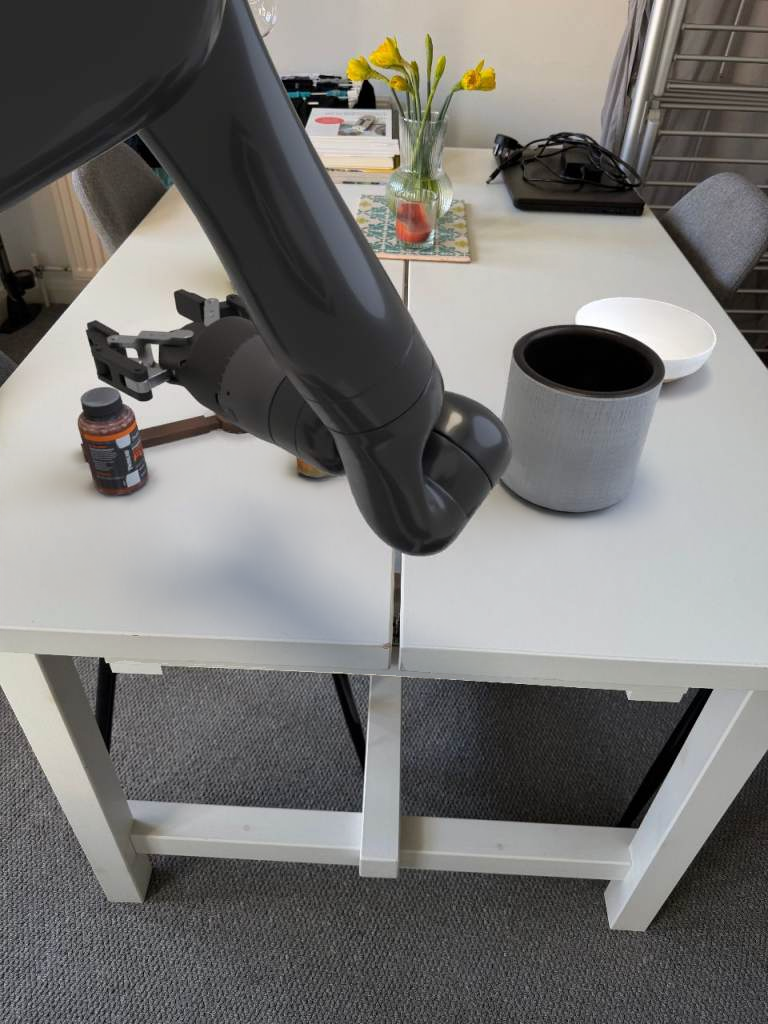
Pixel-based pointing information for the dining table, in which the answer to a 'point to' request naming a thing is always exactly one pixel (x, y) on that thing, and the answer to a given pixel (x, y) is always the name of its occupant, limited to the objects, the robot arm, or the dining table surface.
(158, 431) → the spoon
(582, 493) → the planter
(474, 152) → the dining table surface
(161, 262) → the dining table surface
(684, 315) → the bowl
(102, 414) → the supplement bottle
